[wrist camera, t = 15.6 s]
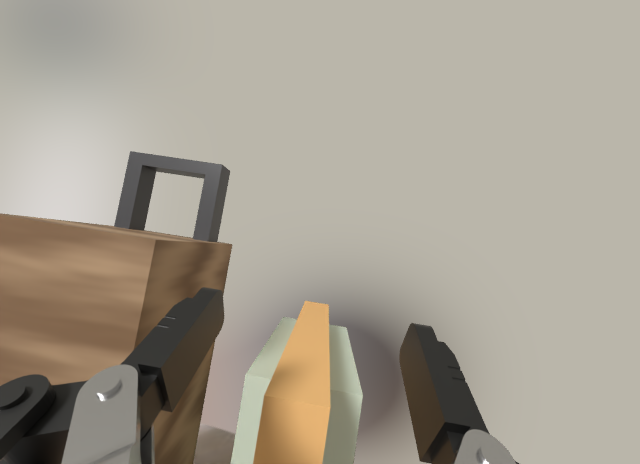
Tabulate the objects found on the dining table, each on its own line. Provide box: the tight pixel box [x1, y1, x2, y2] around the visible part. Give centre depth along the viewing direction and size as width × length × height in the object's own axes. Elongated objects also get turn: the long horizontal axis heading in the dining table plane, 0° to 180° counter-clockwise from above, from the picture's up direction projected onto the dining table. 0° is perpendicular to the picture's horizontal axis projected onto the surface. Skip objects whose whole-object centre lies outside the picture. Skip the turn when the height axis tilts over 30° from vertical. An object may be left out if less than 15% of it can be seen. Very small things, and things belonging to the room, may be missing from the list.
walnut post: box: [0, 214, 232, 464], centre depth 20 cm, size 12×12×32 cm
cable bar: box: [253, 301, 331, 464], centre depth 25 cm, size 24×4×4 cm, turn 178°
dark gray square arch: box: [114, 152, 230, 242], centre depth 25 cm, size 2×10×8 cm, turn 88°
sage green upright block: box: [231, 317, 363, 464], centre depth 29 cm, size 18×10×22 cm, turn 178°
